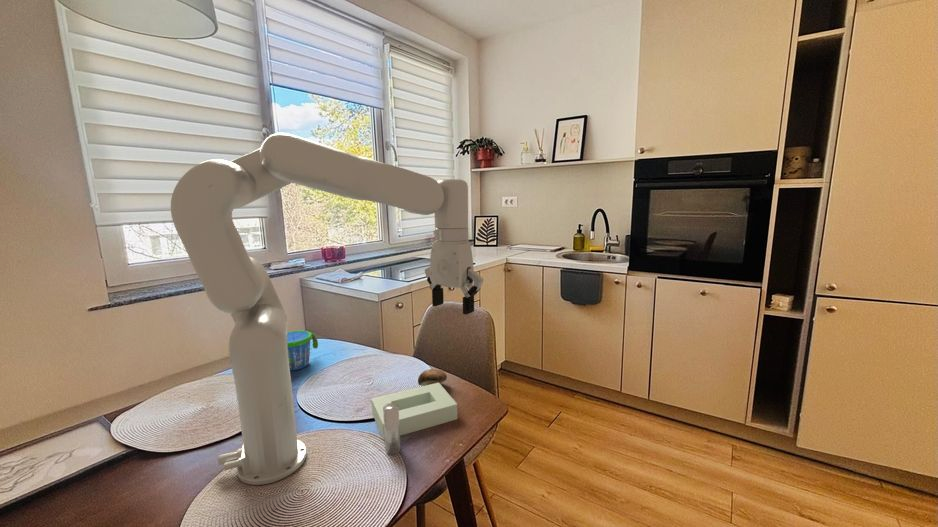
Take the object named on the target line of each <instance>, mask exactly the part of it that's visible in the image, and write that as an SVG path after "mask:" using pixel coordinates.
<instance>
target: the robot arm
mask: <svg viewBox="0 0 938 527" xmlns="http://www.w3.org/2000/svg"><path fill="white" fill-rule="evenodd" d="M290 184H296V185H299V186H303V187H306V188H311V189H315V190H317V191H322V192H325V193H329V194H333V195H335V196H340V197H343V198H347V199H351V200H357V201H366V202H367V201H368V202H373V203H378V204H382V205H386V206H391V207H394V208H397V209H401V210H404V211H405V212H407V213H410V214H414V215H415V214H416V215H421V216H422V215H423V216H429V215H434V230H433V235H434V240H433V241H432V244H431V250H430V258H429V267H427V268H425V269H424V273H425V276H426V278H427V279H426V281H427V282H428V284H429V289H430V290H431V299H432V300H431V303H432V304H431V305H432V307H437V306H441V305H443V304H444V287H447V288H452V289H460V290H461V291H462V294H463V295H464V296H463V297H462V314H463V315H465V316H466V315H469V314H471V313H474V312H475V296H476V295H477V294H478V292H479V291H480V290H481V287H482V285H483V283H484V278H483V277H482V276H481V275H480V274H478V273H477V272H476V271H474V258H473V257H474V256H473V251H472V250H473V249H472V246H471V242H470V241H469V186H468V183H467V181H466V180H464V179H459V178H458V179H457V178H456V179H453V178H451V179H447V178H446V179H445V178H444V179H439V180H435V178H432V177H430V176H428V175H425V174H422V173H418V172H416V171H412V170H410V169H406V168H404V167H399V166H397V165H393V164H389V163H386V162H385V163H384V162H381V161H378V160H375V159H372V158H368V157H365V156H361V155H358V154H354V153H351V152H348V151H344V150H342V149H339V148H338V149H337V148H334V147H331V146H330V145H329V146H328V145H325V144H322V143H319V142H317V141H314V140H310V139H307V138H304V137H301V136H297V135H294V134H290V133H285V132H277V133H273V134H270V135H269V136H268V137H266V138H265V140H264V141H263V142H262V144H261V146H260V147H259V148H257V149H255V150H253V151H251V152H249V153H247V154H244V155H242V156H240V157H239V156H238V157H237V158H235V159H232V160H230V161H228V160H225V159H217V158H215V159H208V160H204V161H201V162H200V163H197V164H196V165H194V166H193V167H192V168H190V169H189V170H188V171H187V172H185V173H184V174H183V175H182V176H181V178H180V179H179V180H178V181H177V184H176V185H175V187H174V188H173V192H172V194H171V199H170V200H171V201H170V214H171V218H172V222H173V225H174V228H175V230H176V233H177V234H178V236H179V238H180V241H181V244H183V247H184V249H185V251H186V253H187V255H188V257H189V260H190V262H191V263H190V264H192V266H193V269H194V271H195V273H196V275H197V277H198V279H199V281H200V282H201V285H202V287H203V289H204V292H205V294H206V296H207V298H208V300H209V302H210V303H211V304H212V305H213V307H215V308H216V309H217V310H219V311H220V312H223V313H226V314H230V316H231V318H232V320H233V321H234V326H233V328H232V330H231V332H230V335H229V338H228V344H227V345H228V348H227V349H228V350H227V351H228V358H229V363H230V366H231V370H232V376H233V380H234V385H235V386H234V387H235V391H236V392H235V393H236V401H237V405H238V414H239V421H240V429H241V437H242V447H241V448H238V449H237V450H236V451H233V452H227V453H226V452H225V453H224V454H219V455H218V466H223V468H224V471H228V470H233V469H235V468H236V472H237V474H236V475H237V476H238V479H239V480H240V481H241V482H242V483H245V484H247V485H253V486H254V485H255V486H256V485H257V486H259V485H260V486H261V485H267V484H272V483H275V482H278V481H280V480H282V479H284V478H287V477H288V476H290V475H292V474H293V473H295V472H296V471H297V470H298V469H299V468H301V466H302V465H303V464H304V462H305V460H306V458H307V455H308V454H307V446H306V445H305V444H304V443H303V441H301V440H299V439H298V435H297V426H296V416H295V406H294V396H293V387H292V377H291V376H292V375H291V370H290V367H289V359H288V349H287V332H288V326H289V325H288V324H289V323H288V318H287V317H288V316H287V314H286V311H285V309H284V307H283V304H282V303H281V300H280V298H279V296H278V293H277V291H276V289H275V286H274V284H273V283H272V280H271V278H270V275H269V274H268V271H267V270H266V268H265V266H264V265H263V264H262V263H261V262H260V261H259V260H257V259H255V258H253V257H251V256H250V255H249V253H248V251H247V249H246V247H245V245H244V242H243V239H242V236H241V234H240V233H239V230H238V229H237V227H236V225H235V222H234V221H233V211H234V210H235V209H239V208H243V207H245V206H247V205H249V204H252V202H256V201H257V200H259V199H262V198H264V197H266V196H268V195H270V194H272V193H274V192H277V191H279V190H280V189H283V188H285V187H286V186H288V185H290Z"/></svg>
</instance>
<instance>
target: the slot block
mask: <svg viewBox="0 0 938 527" xmlns="http://www.w3.org/2000/svg"><path fill="white" fill-rule="evenodd" d="M389 403H396V404H398V406H399V426H400V437H401V436H404V435H408V434H411V433H414V432H418V431H421V430H422V431H423V430H424V429H428V428H432V427H435V426H439V425H441V424H445V423H449V422H452V421H456V420H458V403H457V402H456V401H455V399H453V398H452V396H451V395H450V394H449V393H448V392H447V390H446V389H445V388H444V387H443V386H442V383H434V384H430V385H426V386H419V387H415V388H410V389H406V390H401V391H398V392H397V391H396V392H394V393H388V394H385V395H379V396H377V397H372V398H371V414H372V413H373V414H372V416H373V418H374V420H375V424H376V425H377V428H378V430H379V432H380V435H381V437H382V439H383V441H385V435H384V417H383V407H384V406H385V405H386V404H389Z"/></svg>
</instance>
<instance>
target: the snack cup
mask: <svg viewBox="0 0 938 527" xmlns="http://www.w3.org/2000/svg"><path fill="white" fill-rule="evenodd" d="M311 340H312V348H313V349H318V347H319V342H318V337H317V335H316V334H315V333H312V332H310V331H309V330H301V329H300V330H299V329H298V330H292V331H287V349H288V359H289V367H290V371H298V370H300V369H303V368H305V367H307V366H309V363H310V358H311V357H310V355H311V354H310V353H311Z"/></svg>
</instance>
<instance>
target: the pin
mask: <svg viewBox="0 0 938 527" xmlns="http://www.w3.org/2000/svg"><path fill="white" fill-rule="evenodd" d="M383 417H384V435H385V440H384V448H385V451H384V452H385V453H386V454H387V455H389V456H390V455H391V456H393V455H396V454H398V453H399V452H400V451H401V436H400V426H399V406H398V404H396V403H389V404H386V405H385V406H384V407H383Z"/></svg>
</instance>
